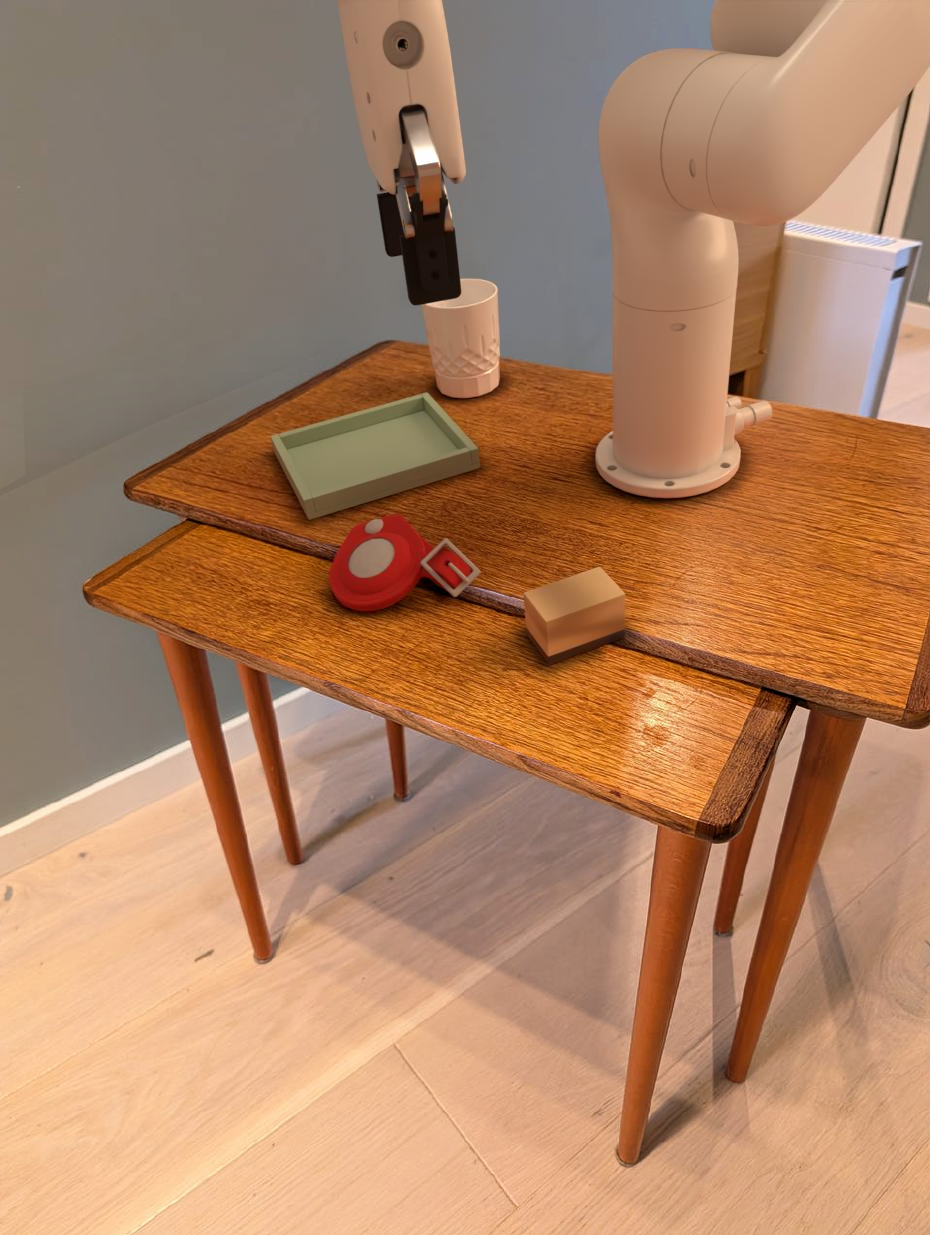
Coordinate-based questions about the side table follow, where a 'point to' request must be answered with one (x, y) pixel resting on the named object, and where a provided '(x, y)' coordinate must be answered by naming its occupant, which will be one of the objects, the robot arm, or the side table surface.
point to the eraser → (574, 615)
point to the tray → (373, 454)
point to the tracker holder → (393, 564)
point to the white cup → (465, 340)
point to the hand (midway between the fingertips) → (421, 274)
